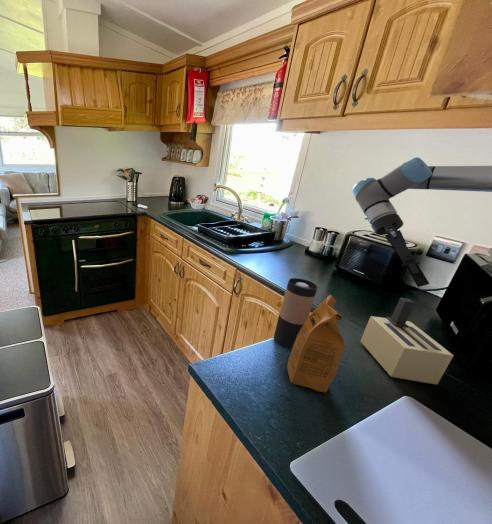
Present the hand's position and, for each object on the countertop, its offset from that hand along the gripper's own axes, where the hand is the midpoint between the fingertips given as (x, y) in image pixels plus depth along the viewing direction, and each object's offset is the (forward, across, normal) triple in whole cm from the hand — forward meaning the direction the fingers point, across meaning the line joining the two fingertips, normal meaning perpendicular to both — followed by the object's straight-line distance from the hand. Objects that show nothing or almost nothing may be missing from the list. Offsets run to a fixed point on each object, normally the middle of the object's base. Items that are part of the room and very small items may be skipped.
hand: (423, 285), depth 84 cm
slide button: (+9, +2, -10) cm, 13 cm away
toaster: (+19, +1, -15) cm, 24 cm away
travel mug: (+10, +18, -37) cm, 42 cm away
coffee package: (+21, +27, -31) cm, 46 cm away
